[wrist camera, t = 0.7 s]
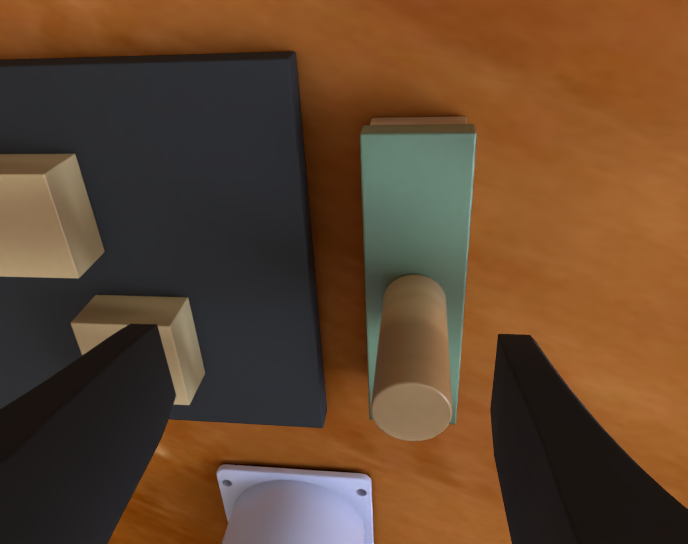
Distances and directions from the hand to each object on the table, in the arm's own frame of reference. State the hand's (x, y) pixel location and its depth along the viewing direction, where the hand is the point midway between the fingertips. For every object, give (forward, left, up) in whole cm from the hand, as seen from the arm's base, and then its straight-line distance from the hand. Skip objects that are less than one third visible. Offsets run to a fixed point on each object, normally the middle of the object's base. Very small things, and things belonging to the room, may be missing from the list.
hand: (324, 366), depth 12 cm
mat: (-3, +12, -10) cm, 16 cm away
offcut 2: (-6, +9, -9) cm, 14 cm away
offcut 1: (0, +12, -9) cm, 15 cm away
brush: (-3, -2, -10) cm, 11 cm away
